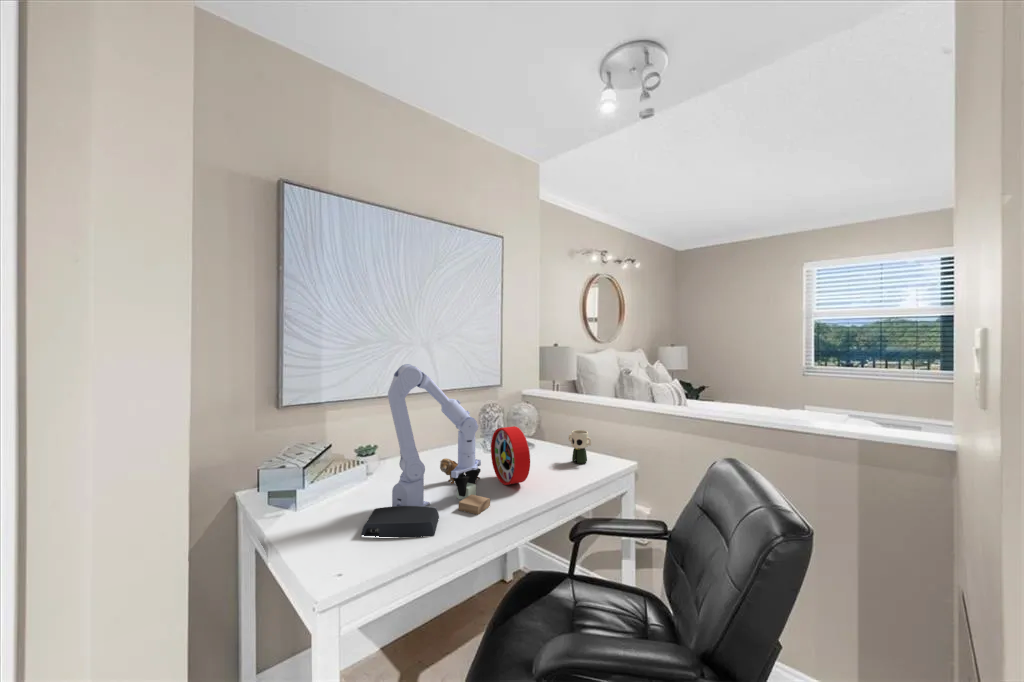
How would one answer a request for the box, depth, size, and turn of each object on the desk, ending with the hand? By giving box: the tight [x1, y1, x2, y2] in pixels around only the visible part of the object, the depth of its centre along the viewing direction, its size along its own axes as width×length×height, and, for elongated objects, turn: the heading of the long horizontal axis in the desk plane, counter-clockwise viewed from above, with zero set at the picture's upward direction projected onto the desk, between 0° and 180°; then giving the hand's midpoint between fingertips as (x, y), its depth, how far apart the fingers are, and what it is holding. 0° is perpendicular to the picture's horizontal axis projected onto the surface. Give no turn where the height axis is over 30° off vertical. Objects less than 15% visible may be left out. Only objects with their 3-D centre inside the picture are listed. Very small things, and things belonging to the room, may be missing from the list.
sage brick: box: [456, 483, 477, 500], centre depth 136 cm, size 4×4×4 cm
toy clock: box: [490, 425, 531, 486], centre depth 150 cm, size 20×6×20 cm, turn 27°
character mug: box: [568, 429, 592, 464], centre depth 174 cm, size 11×7×13 cm, turn 49°
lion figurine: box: [439, 457, 481, 485], centre depth 150 cm, size 15×5×9 cm, turn 108°
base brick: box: [458, 494, 491, 516], centre depth 127 cm, size 7×7×2 cm
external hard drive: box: [360, 505, 440, 538], centre depth 115 cm, size 13×19×4 cm
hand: (466, 493), depth 136 cm, fingers closed on sage brick, 4 cm apart
